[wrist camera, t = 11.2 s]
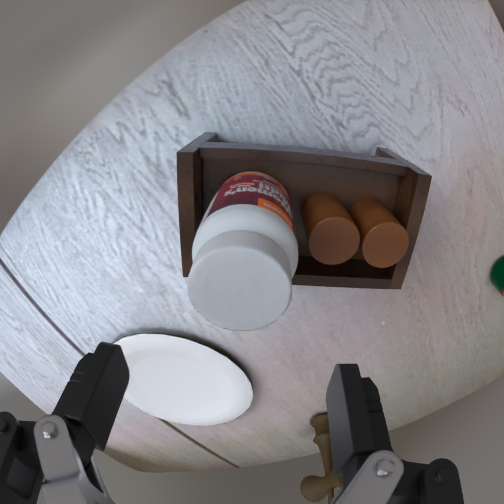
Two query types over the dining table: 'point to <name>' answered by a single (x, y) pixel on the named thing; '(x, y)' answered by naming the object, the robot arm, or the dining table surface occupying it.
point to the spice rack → (318, 206)
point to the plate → (183, 380)
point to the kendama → (321, 486)
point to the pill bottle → (244, 254)
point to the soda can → (498, 275)
